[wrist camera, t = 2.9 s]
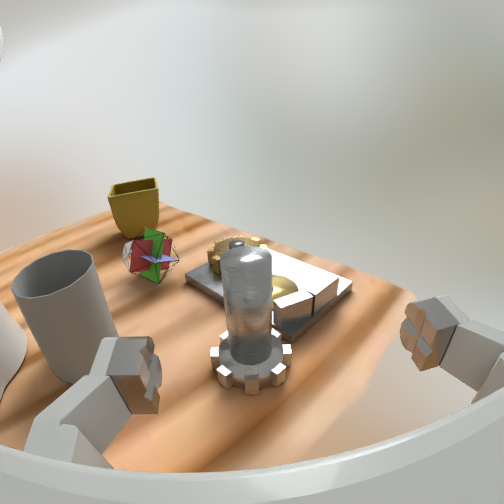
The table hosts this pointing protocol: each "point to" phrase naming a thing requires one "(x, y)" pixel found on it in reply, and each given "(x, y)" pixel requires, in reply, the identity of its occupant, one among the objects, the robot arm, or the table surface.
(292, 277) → the carrier
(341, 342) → the table surface
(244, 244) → the sun gear
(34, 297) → the cup
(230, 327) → the gear
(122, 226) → the flower pot
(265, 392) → the table surface
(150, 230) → the geometric puzzle
